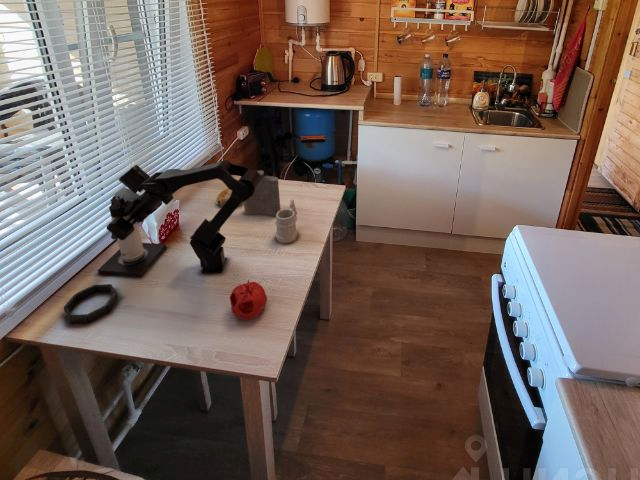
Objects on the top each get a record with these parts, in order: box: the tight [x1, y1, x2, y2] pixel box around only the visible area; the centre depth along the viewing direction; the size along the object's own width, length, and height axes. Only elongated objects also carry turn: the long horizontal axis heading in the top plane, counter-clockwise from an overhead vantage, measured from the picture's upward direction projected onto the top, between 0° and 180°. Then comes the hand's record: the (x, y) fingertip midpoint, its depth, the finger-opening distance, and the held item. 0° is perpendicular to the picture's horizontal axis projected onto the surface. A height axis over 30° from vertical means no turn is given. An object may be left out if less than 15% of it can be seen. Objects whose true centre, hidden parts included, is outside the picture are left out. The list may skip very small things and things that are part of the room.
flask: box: [243, 170, 281, 217], centre depth 147 cm, size 4×14×18 cm, turn 86°
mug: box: [274, 199, 299, 244], centre depth 136 cm, size 8×12×12 cm, turn 165°
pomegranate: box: [229, 279, 268, 320], centre depth 104 cm, size 10×10×9 cm
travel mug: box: [108, 204, 144, 262], centre depth 120 cm, size 6×7×20 cm
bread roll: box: [215, 187, 243, 208], centre depth 156 cm, size 10×10×8 cm
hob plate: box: [97, 242, 167, 278], centre depth 124 cm, size 14×14×2 cm
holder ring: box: [63, 283, 120, 325], centre depth 106 cm, size 12×12×2 cm
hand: (122, 229), depth 120 cm, fingers open, 9 cm apart
